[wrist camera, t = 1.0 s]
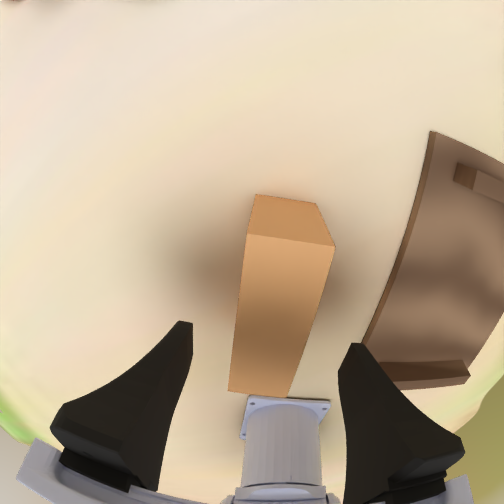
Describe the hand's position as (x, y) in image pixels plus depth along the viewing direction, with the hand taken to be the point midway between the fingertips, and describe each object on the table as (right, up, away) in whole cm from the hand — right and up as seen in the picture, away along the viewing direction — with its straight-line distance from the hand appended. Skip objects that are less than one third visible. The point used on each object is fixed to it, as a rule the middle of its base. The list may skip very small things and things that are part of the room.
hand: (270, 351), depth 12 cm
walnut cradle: (+15, +2, +6) cm, 17 cm away
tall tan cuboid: (0, +3, +6) cm, 7 cm away
